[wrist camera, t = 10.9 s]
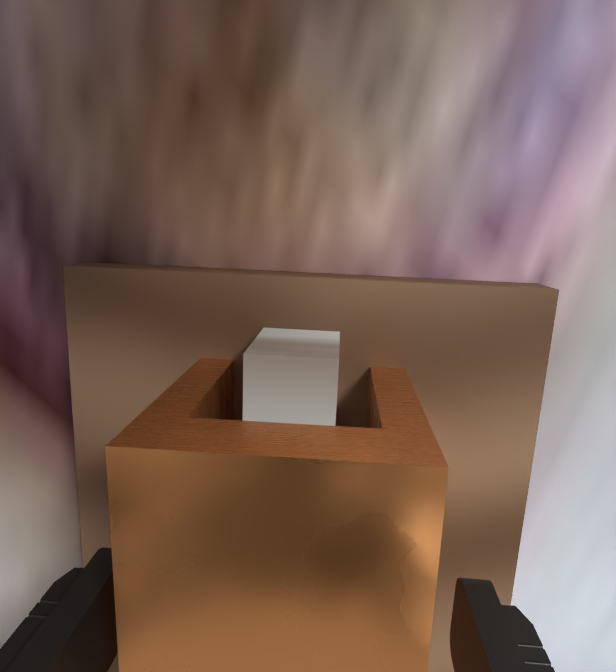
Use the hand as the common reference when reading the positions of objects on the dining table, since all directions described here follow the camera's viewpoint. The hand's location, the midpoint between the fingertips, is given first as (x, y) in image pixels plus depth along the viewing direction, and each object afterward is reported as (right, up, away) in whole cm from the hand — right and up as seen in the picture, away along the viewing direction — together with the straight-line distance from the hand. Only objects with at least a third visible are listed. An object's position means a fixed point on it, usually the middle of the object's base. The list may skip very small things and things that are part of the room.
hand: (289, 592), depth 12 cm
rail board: (0, +1, +5) cm, 5 cm away
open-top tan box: (0, +1, +3) cm, 3 cm away
